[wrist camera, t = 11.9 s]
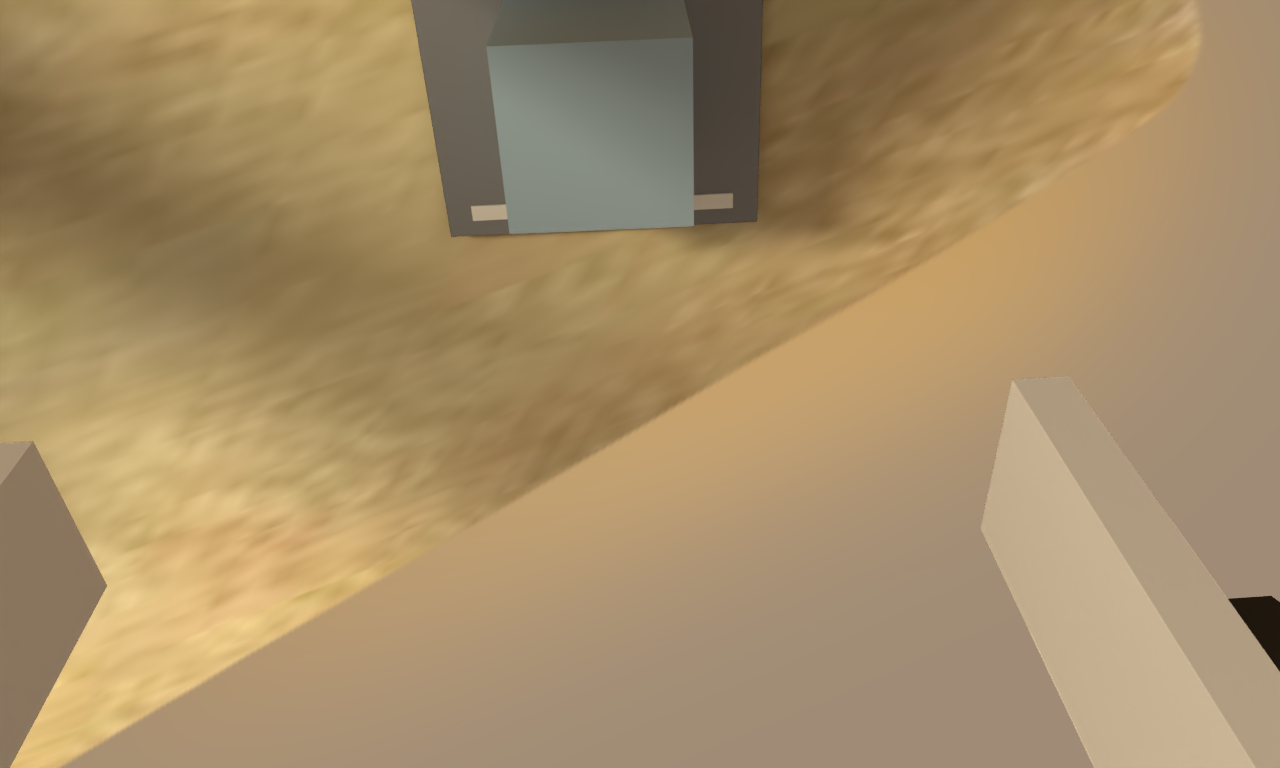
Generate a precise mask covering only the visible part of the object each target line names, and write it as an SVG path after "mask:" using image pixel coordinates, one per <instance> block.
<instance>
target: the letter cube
mask: <svg viewBox="0 0 1280 768" xmlns="http://www.w3.org/2000/svg"><path fill="white" fill-rule="evenodd" d="M486 48H487V56H488V64H489V72H490V80H491V88H492V96H493V104H494V113H495V121H496V129H497V137H498V145H499V153H500V161H501V169H502V177H503V185H504V193H505V201H506V209H507V217H508V226H509V234H527V233H550V232H573V231H596V230H619V229H642V228H665V227H689V226H694V148H693V36H692V32H691V28H690V23H689V19H688V15H687V11H686V7H685V3H684V0H503V3H502V6H501V8H500V11H499V14H498V16H497V19H496V22H495V25H494V27H493V30H492V33H491V35H490V38H489V41H488V43H487V46H486Z"/></svg>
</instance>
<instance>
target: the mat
mask: <svg viewBox="0 0 1280 768" xmlns="http://www.w3.org/2000/svg"><path fill="white" fill-rule="evenodd" d="M411 2H412V8H413V14H414V20H415V25H416V31H417V37H418V43H419V49H420V55H421V61H422V67H423V73H424V79H425V84H426V90H427V96H428V102H429V108H430V114H431V120H432V126H433V132H434V138H435V143H436V149H437V155H438V161H439V167H440V173H441V179H442V185H443V191H444V197H445V202H446V208H447V214H448V220H449V226H450V232H451V237H456V236H476V235H496V234H509V226H508V217H507V209H506V201H505V193H504V185H503V177H502V169H501V161H500V153H499V145H498V137H497V129H496V121H495V113H494V104H493V96H492V88H491V80H490V72H489V64H488V56H487V48H486V46H487V43H488V41H489V38H490V35H491V33H492V30H493V27H494V25H495V22H496V19H497V16H498V14H499V11H500V8H501V6H502V3H503V0H411ZM684 3H685V7H686V11H687V15H688V19H689V23H690V28H691V32H692V36H693V148H694V225H696V224H716V223H737V222H757V200H758V163H759V125H760V88H761V50H762V13H763V0H684Z"/></svg>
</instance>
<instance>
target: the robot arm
mask: <svg viewBox="0 0 1280 768" xmlns="http://www.w3.org/2000/svg"><path fill="white" fill-rule="evenodd" d="M980 529H981V531H982V533H983V535H984V538H985V540H986V541H987V544H988V546H989V548H990V550H991V552H992V554H993V556H994V559H995V561H996V563H997V565H998V567H999V569H1000V571H1001V573H1002V575H1003V577H1004V579H1005V581H1006V584H1007V585H1008V588H1009V590H1010V592H1011V594H1012V596H1013V598H1014V600H1015V603H1016V605H1017V607H1018V609H1019V611H1020V613H1021V615H1022V617H1023V619H1024V622H1025V624H1026V626H1027V628H1028V630H1029V632H1030V634H1031V636H1032V638H1033V640H1034V642H1035V645H1036V646H1037V649H1038V651H1039V653H1040V655H1041V657H1042V659H1043V661H1044V664H1045V665H1046V668H1047V670H1048V672H1049V674H1050V676H1051V678H1052V680H1053V682H1054V685H1055V687H1056V689H1057V690H1058V693H1059V695H1060V697H1061V699H1062V701H1063V703H1064V705H1065V707H1066V710H1067V712H1068V714H1069V716H1070V718H1071V720H1072V722H1073V724H1074V727H1075V729H1076V731H1077V733H1078V735H1079V737H1080V739H1081V741H1082V743H1083V745H1084V747H1085V750H1086V752H1087V754H1088V756H1089V758H1090V760H1091V762H1092V764H1093V766H1094V768H1280V602H1279V601H1277V600H1276V599H1275V598H1273V597H1272V596H1263V597H1249V598H1233V599H1227V597H1226V596H1225V594H1224V593H1223V592H1222V590H1221V589H1220V587H1219V586H1218V585H1217V583H1216V582H1215V580H1214V579H1213V577H1212V576H1211V575H1210V573H1209V572H1208V570H1207V569H1206V568H1205V566H1204V565H1203V564H1202V562H1201V561H1200V559H1199V558H1198V556H1197V555H1196V554H1195V552H1194V551H1193V550H1192V548H1191V547H1190V545H1189V544H1188V542H1187V541H1186V540H1185V538H1184V537H1183V535H1182V534H1181V533H1180V531H1179V530H1178V528H1177V527H1176V526H1175V524H1174V523H1173V521H1172V520H1171V519H1170V517H1169V516H1168V514H1167V513H1166V512H1165V510H1164V509H1163V507H1162V506H1161V505H1160V503H1159V502H1158V500H1157V499H1156V498H1155V496H1154V495H1153V494H1152V492H1151V491H1150V489H1149V488H1148V486H1147V485H1146V484H1145V482H1144V481H1143V479H1142V478H1141V477H1140V475H1139V474H1138V472H1137V471H1136V469H1135V468H1134V467H1133V465H1132V464H1131V463H1130V461H1129V460H1128V458H1127V457H1126V455H1125V454H1124V453H1123V451H1122V450H1121V449H1120V447H1119V446H1118V444H1117V443H1116V442H1115V440H1114V439H1113V437H1112V436H1111V434H1110V433H1109V432H1108V430H1107V429H1106V428H1105V426H1104V425H1103V423H1102V422H1101V421H1100V419H1099V418H1098V416H1097V415H1096V413H1095V412H1094V411H1093V409H1092V408H1091V406H1090V405H1089V404H1088V402H1087V401H1086V399H1085V398H1084V397H1083V395H1082V394H1081V393H1080V391H1079V390H1078V388H1077V387H1076V385H1075V384H1074V383H1073V381H1072V380H1071V378H1070V377H1069V376H1059V377H1043V378H1027V379H1013V380H1012V384H1011V389H1010V393H1009V398H1008V403H1007V407H1006V412H1005V416H1004V421H1003V426H1002V431H1001V435H1000V440H999V444H998V450H997V454H996V458H995V463H994V468H993V472H992V477H991V482H990V486H989V491H988V496H987V500H986V506H985V510H984V514H983V519H982V523H981V528H980ZM106 587H107V585H106V583H105V581H104V579H103V577H102V575H101V573H100V571H99V569H98V567H97V565H96V563H95V561H94V559H93V557H92V555H91V553H90V551H89V550H88V548H87V546H86V544H85V542H84V540H83V538H82V536H81V534H80V532H79V530H78V528H77V526H76V524H75V522H74V520H73V518H72V516H71V514H70V512H69V510H68V509H67V507H66V505H65V503H64V501H63V499H62V497H61V495H60V493H59V491H58V489H57V487H56V485H55V483H54V481H53V479H52V477H51V475H50V473H49V471H48V470H47V468H46V466H45V464H44V462H43V460H42V458H41V456H40V454H39V452H38V450H37V448H36V446H35V444H34V442H33V441H29V442H13V443H0V768H10V766H11V764H12V762H13V761H14V759H15V757H16V755H17V753H18V751H19V749H20V748H21V746H22V744H23V742H24V740H25V738H26V736H27V734H28V733H29V731H30V729H31V727H32V725H33V723H34V721H35V719H36V718H37V716H38V714H39V712H40V710H41V708H42V706H43V705H44V703H45V701H46V699H47V697H48V695H49V693H50V691H51V690H52V688H53V686H54V684H55V682H56V680H57V678H58V676H59V675H60V673H61V671H62V669H63V667H64V665H65V663H66V662H67V660H68V658H69V656H70V654H71V652H72V650H73V648H74V647H75V645H76V643H77V641H78V639H79V637H80V635H81V633H82V632H83V630H84V628H85V626H86V624H87V622H88V620H89V619H90V617H91V615H92V613H93V611H94V609H95V607H96V605H97V604H98V602H99V600H100V598H101V596H102V594H103V592H104V590H105V589H106Z"/></svg>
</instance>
